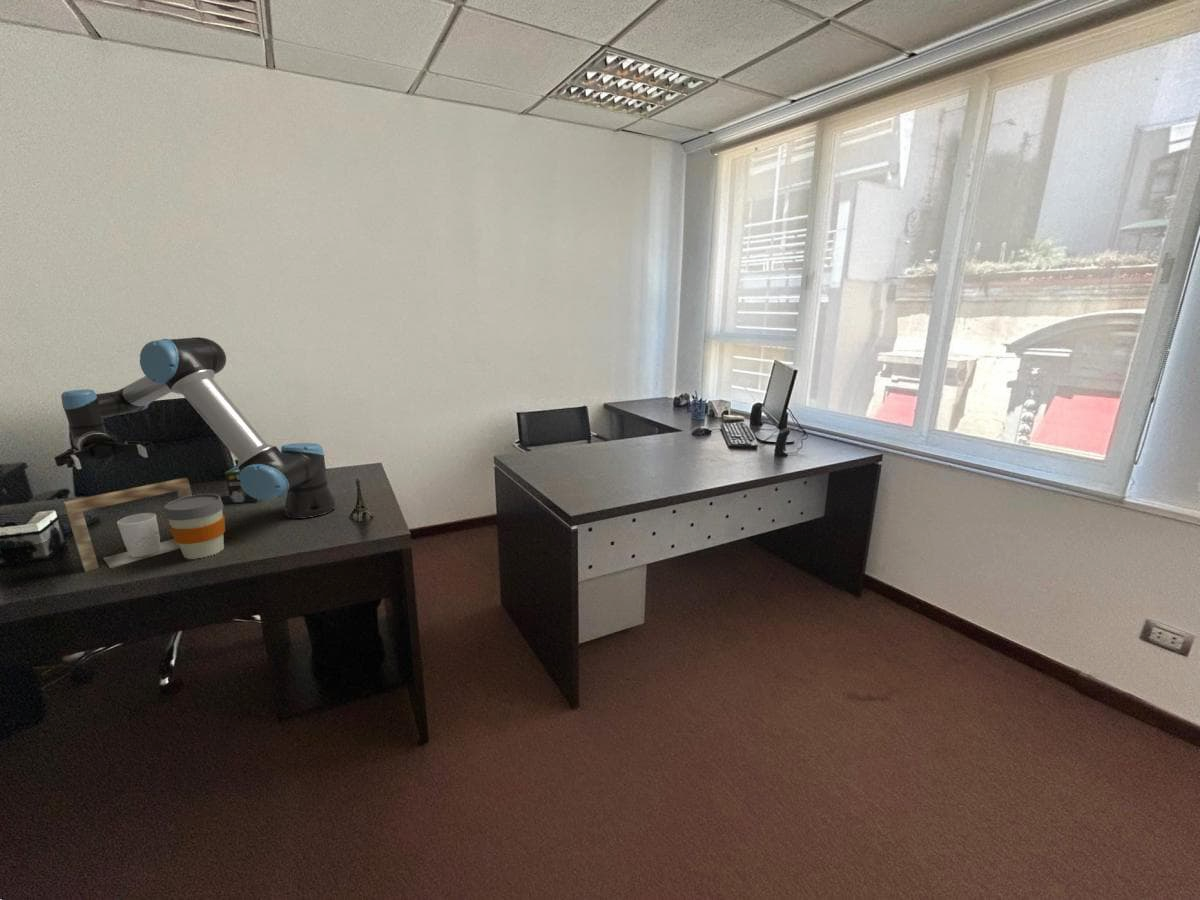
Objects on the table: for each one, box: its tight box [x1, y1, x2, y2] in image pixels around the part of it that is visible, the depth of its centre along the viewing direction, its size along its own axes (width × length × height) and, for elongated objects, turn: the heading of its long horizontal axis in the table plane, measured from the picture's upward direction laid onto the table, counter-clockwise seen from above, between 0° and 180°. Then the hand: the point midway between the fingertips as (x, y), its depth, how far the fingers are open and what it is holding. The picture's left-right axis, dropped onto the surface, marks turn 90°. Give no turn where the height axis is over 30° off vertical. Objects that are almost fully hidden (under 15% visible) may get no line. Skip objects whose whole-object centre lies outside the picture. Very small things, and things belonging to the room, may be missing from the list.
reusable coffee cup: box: [164, 493, 226, 560], centre depth 138 cm, size 13×12×15 cm
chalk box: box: [224, 459, 261, 504], centre depth 176 cm, size 9×9×15 cm
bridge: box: [63, 477, 193, 572], centre depth 136 cm, size 24×8×18 cm, turn 142°
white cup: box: [116, 512, 161, 557], centre depth 137 cm, size 8×8×10 cm
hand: (113, 458), depth 138 cm, fingers open, 13 cm apart
